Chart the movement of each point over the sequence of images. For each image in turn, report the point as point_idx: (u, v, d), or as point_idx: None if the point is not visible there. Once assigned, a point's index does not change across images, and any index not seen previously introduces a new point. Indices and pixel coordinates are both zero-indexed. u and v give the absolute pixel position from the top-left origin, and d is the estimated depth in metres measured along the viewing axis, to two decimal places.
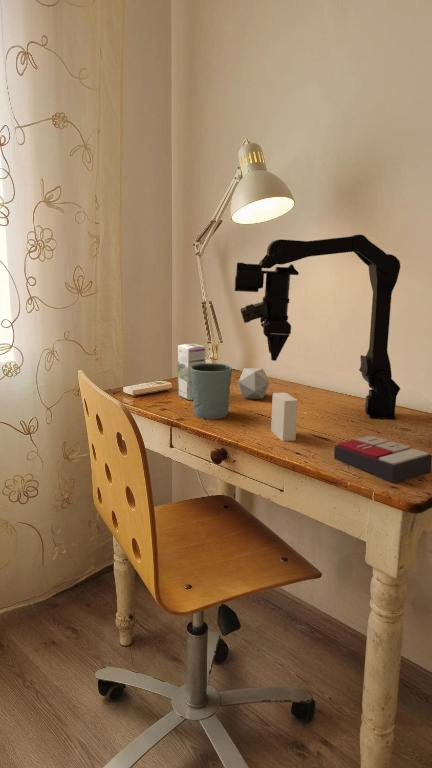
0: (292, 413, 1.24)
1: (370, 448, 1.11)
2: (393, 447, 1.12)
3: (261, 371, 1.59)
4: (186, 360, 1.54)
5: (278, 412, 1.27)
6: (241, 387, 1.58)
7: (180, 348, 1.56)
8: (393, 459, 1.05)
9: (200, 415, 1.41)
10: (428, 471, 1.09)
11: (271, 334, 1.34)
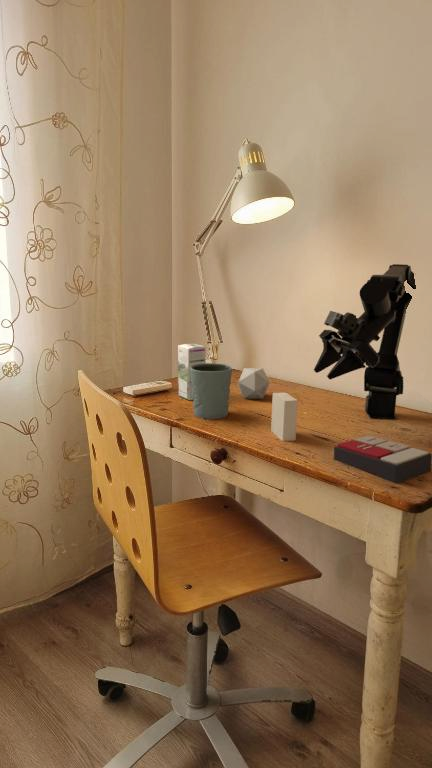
0: (292, 413, 1.24)
1: (370, 448, 1.11)
2: (393, 447, 1.12)
3: (261, 371, 1.59)
4: (186, 360, 1.54)
5: (278, 412, 1.27)
6: (241, 387, 1.58)
7: (180, 348, 1.56)
8: (395, 459, 1.05)
9: (200, 415, 1.41)
10: (428, 470, 1.09)
11: (354, 354, 1.22)
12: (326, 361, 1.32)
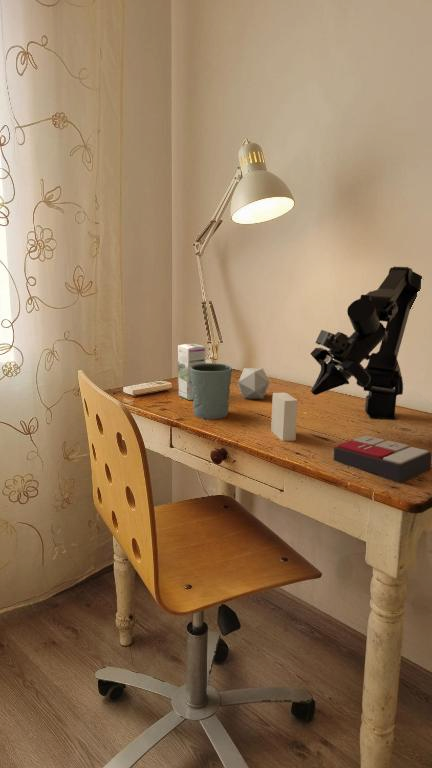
0: (292, 413, 1.24)
1: (371, 448, 1.11)
2: (392, 446, 1.12)
3: (261, 371, 1.59)
4: (186, 360, 1.54)
5: (278, 412, 1.27)
6: (241, 387, 1.58)
7: (180, 348, 1.56)
8: (398, 459, 1.06)
9: (200, 415, 1.41)
10: (428, 469, 1.10)
11: (338, 370, 1.25)
12: None
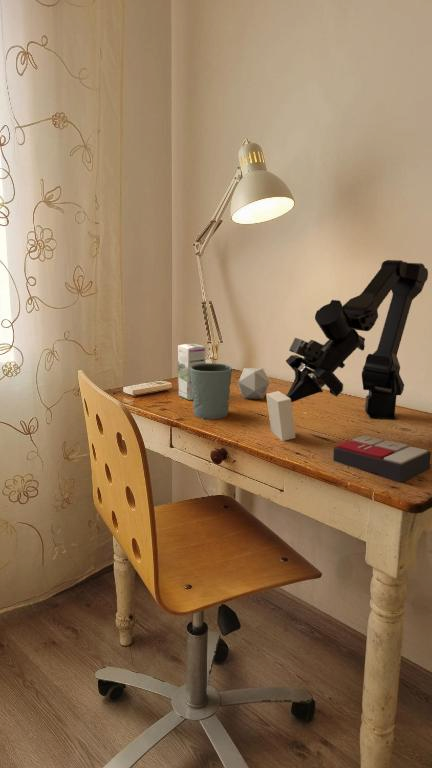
0: (287, 412, 1.24)
1: (371, 448, 1.11)
2: (392, 446, 1.13)
3: (261, 371, 1.59)
4: (186, 360, 1.54)
5: (274, 412, 1.27)
6: (241, 387, 1.58)
7: (180, 348, 1.56)
8: (399, 459, 1.06)
9: (200, 415, 1.41)
10: (428, 468, 1.11)
11: (311, 379, 1.23)
12: None
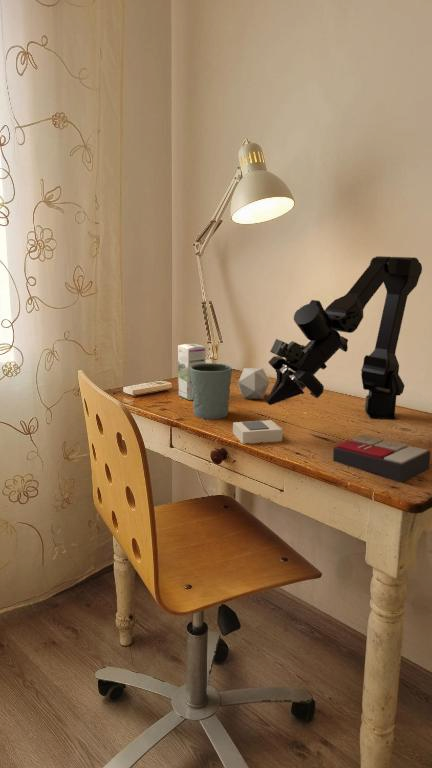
0: (255, 435, 1.23)
1: (371, 448, 1.11)
2: (392, 446, 1.13)
3: (261, 371, 1.59)
4: (186, 360, 1.54)
5: None
6: (241, 387, 1.58)
7: (180, 348, 1.56)
8: (399, 458, 1.06)
9: (200, 415, 1.41)
10: (427, 467, 1.11)
11: (292, 380, 1.22)
12: None
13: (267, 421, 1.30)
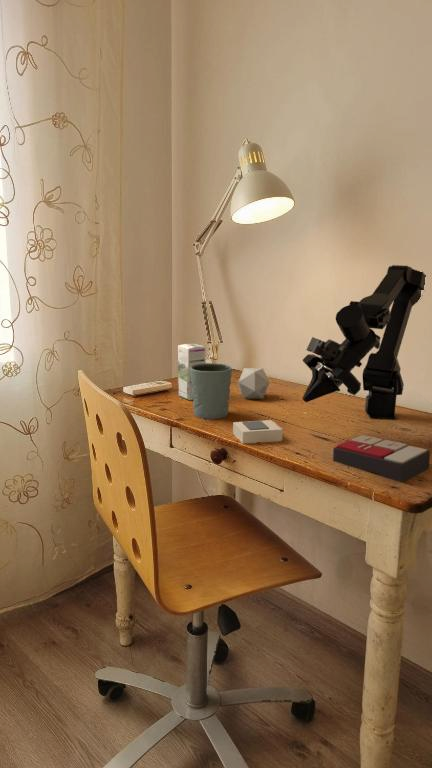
0: (255, 435, 1.23)
1: (371, 448, 1.11)
2: (391, 445, 1.13)
3: (261, 371, 1.59)
4: (186, 360, 1.54)
5: None
6: (241, 387, 1.58)
7: (180, 348, 1.56)
8: (399, 458, 1.06)
9: (200, 415, 1.41)
10: (427, 467, 1.11)
11: (329, 378, 1.25)
12: None
13: (267, 421, 1.30)
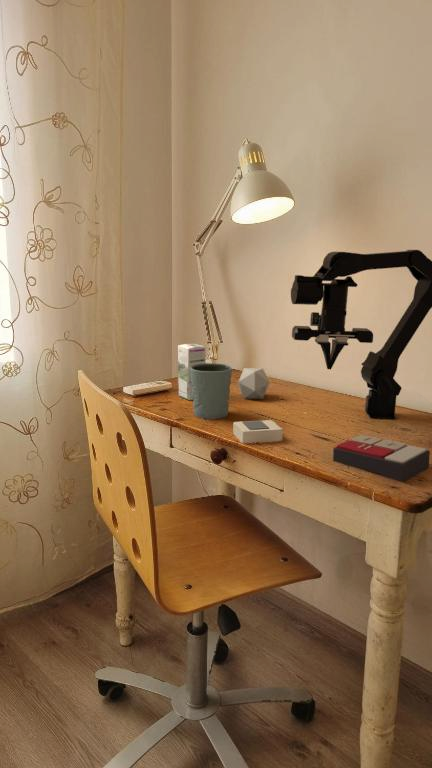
0: (255, 435, 1.23)
1: (371, 448, 1.11)
2: (391, 445, 1.13)
3: (261, 371, 1.59)
4: (186, 360, 1.54)
5: None
6: (241, 387, 1.58)
7: (180, 348, 1.56)
8: (400, 458, 1.06)
9: (200, 415, 1.41)
10: (427, 466, 1.11)
11: (315, 340, 1.42)
12: (331, 355, 1.41)
13: (267, 421, 1.30)
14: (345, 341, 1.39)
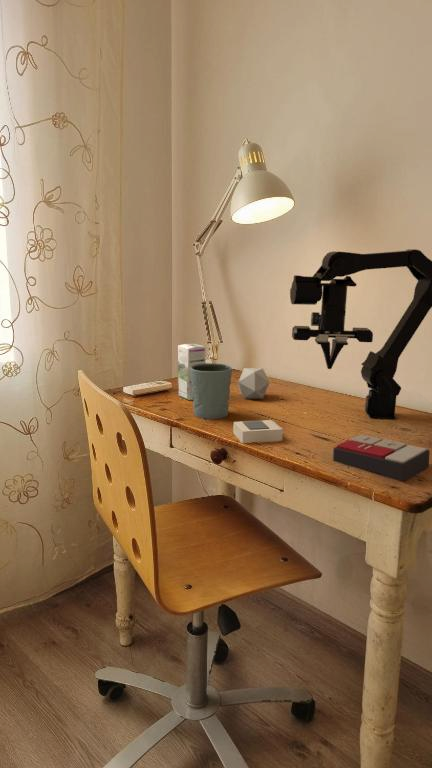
0: (255, 435, 1.23)
1: (371, 448, 1.11)
2: (391, 445, 1.13)
3: (261, 371, 1.59)
4: (186, 360, 1.54)
5: None
6: (241, 387, 1.58)
7: (180, 348, 1.56)
8: (400, 458, 1.06)
9: (200, 415, 1.41)
10: (427, 466, 1.11)
11: (315, 339, 1.42)
12: (331, 355, 1.41)
13: (268, 421, 1.30)
14: (345, 341, 1.39)
